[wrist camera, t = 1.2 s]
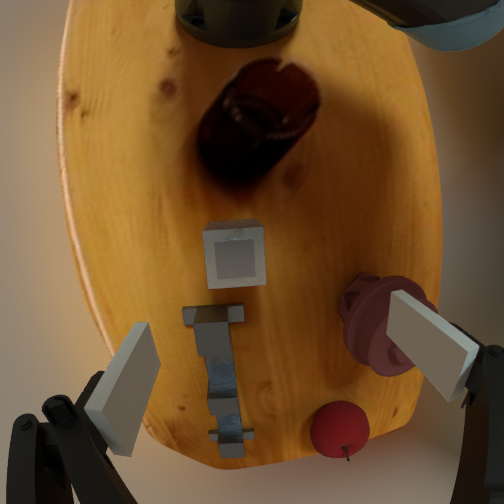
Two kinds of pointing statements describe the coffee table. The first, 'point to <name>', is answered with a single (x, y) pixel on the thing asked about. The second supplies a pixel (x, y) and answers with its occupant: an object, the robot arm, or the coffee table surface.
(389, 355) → the mechanical component
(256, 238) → the block
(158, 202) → the coffee table surface
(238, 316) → the rail
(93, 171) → the coffee table surface
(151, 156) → the coffee table surface
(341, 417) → the apple
